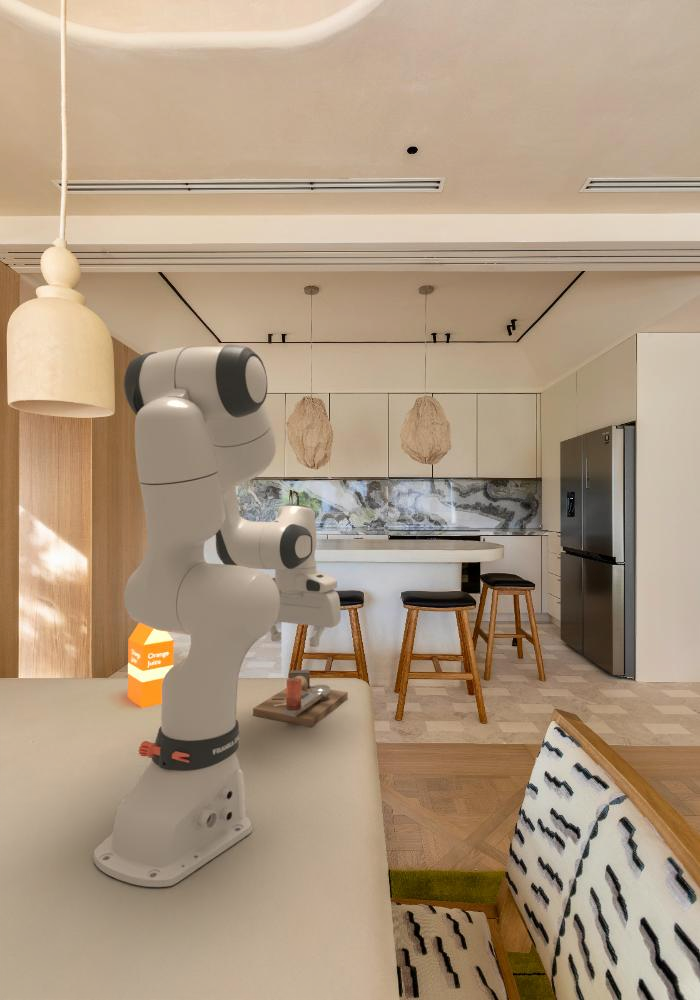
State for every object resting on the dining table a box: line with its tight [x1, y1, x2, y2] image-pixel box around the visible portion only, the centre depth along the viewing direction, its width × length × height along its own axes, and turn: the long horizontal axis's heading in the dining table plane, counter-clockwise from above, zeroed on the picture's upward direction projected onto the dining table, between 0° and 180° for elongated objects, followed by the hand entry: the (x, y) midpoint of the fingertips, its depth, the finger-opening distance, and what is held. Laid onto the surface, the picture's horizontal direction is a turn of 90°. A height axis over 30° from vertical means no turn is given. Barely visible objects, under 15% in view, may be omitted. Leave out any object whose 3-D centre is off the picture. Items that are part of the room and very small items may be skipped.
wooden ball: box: [295, 676, 308, 691], centre depth 138 cm, size 4×4×4 cm
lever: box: [285, 677, 331, 717], centre depth 127 cm, size 17×5×8 cm, turn 157°
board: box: [252, 669, 349, 728], centre depth 132 cm, size 19×15×6 cm
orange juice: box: [127, 622, 175, 709], centre depth 135 cm, size 8×9×20 cm
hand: (295, 643), depth 121 cm, fingers open, 8 cm apart
